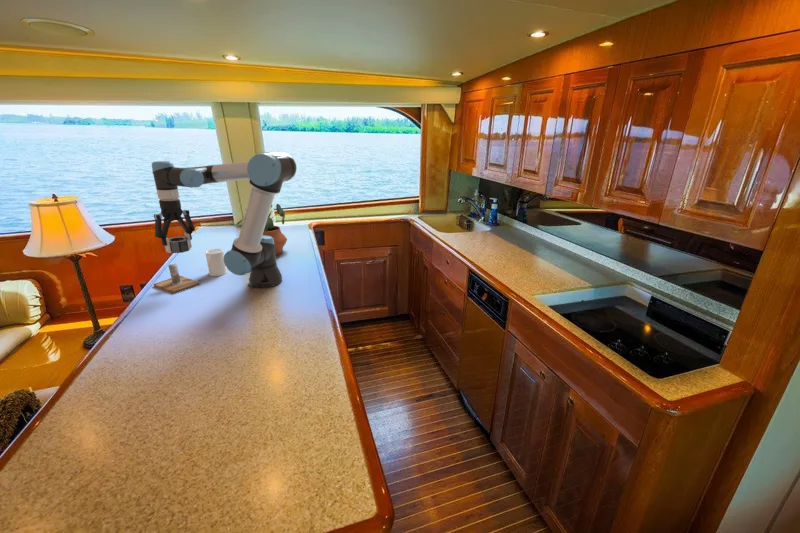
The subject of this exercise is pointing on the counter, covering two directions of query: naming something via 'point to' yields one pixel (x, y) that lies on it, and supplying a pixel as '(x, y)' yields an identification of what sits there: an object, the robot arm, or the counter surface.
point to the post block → (176, 281)
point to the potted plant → (275, 230)
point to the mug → (216, 262)
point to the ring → (179, 244)
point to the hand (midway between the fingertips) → (179, 249)
